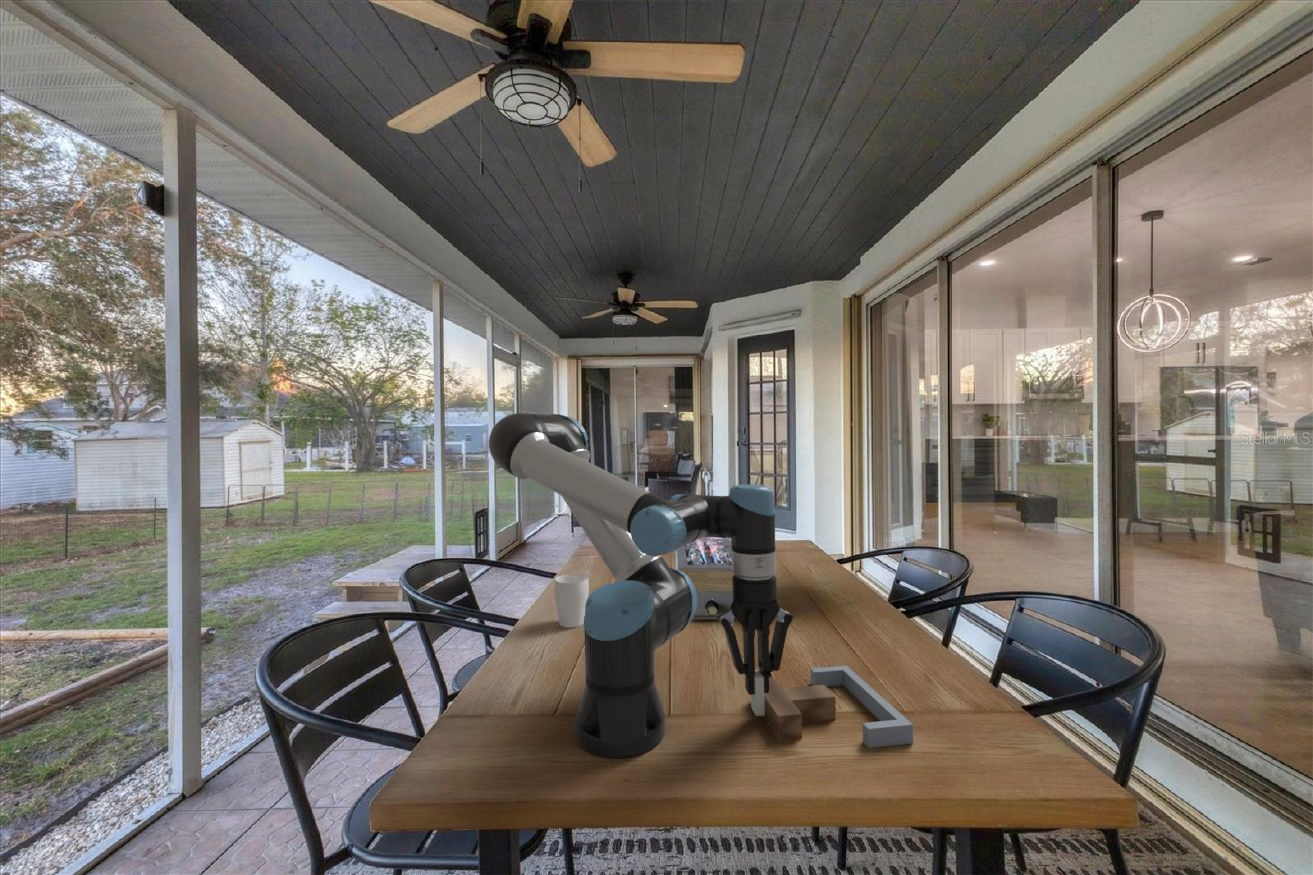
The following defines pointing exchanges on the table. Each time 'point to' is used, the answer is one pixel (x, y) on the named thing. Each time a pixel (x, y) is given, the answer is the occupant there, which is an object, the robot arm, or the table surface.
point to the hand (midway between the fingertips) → (757, 711)
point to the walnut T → (796, 708)
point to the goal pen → (868, 707)
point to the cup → (571, 599)
